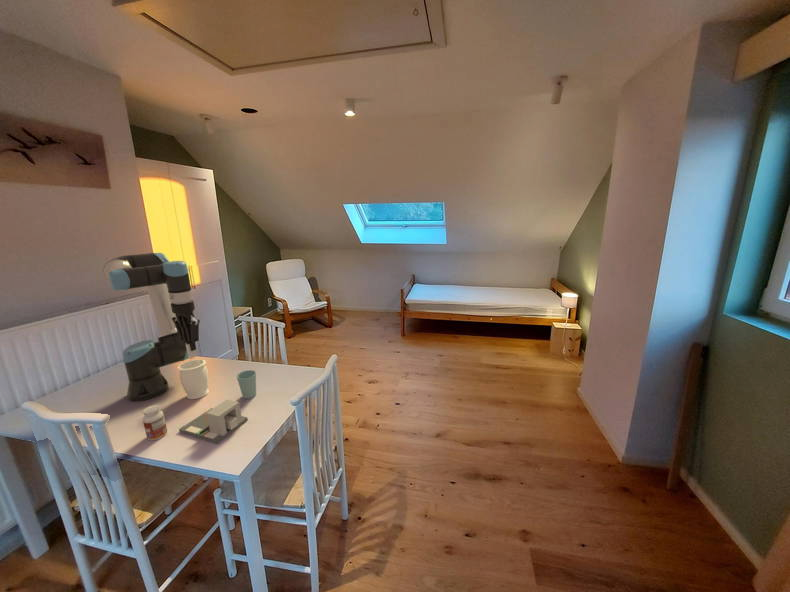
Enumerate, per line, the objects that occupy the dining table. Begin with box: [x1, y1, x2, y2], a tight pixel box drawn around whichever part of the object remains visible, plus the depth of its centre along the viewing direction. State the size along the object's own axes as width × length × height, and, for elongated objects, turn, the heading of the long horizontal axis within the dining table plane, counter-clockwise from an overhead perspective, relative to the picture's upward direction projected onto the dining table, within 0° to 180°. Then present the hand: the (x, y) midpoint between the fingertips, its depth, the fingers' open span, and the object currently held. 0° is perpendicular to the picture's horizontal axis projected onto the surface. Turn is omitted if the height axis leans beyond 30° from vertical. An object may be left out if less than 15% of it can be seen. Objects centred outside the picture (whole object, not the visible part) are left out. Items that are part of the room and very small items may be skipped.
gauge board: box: [178, 399, 249, 445], centre depth 122 cm, size 19×14×9 cm
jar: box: [177, 358, 210, 400], centre depth 143 cm, size 11×10×15 cm
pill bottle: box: [142, 404, 168, 441], centre depth 117 cm, size 6×6×11 cm
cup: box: [236, 369, 257, 400], centre depth 142 cm, size 8×8×10 cm
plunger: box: [199, 412, 238, 434], centre depth 118 cm, size 10×10×6 cm
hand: (192, 357), depth 131 cm, fingers closed
